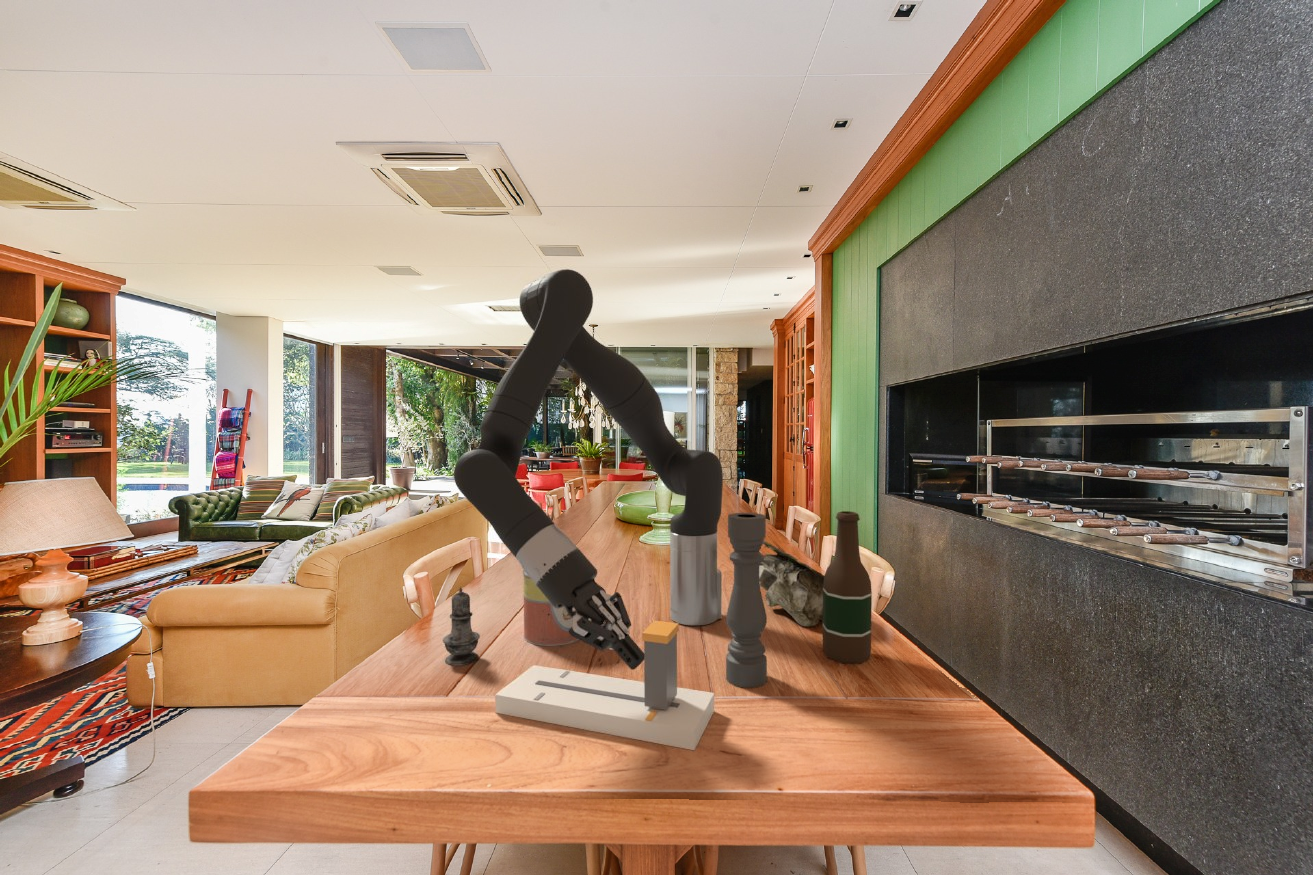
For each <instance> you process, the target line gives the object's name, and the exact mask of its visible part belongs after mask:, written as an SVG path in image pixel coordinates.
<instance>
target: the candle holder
mask: <svg viewBox="0 0 1313 875" xmlns="http://www.w3.org/2000/svg"><path fill="white" fill-rule="evenodd" d="M766 517H767V516H766V515H765V514H763V513H756V512H754V513H753V512H734V513H730V514H728V516H727V537H728V538H729V543H730V544H731V547H732V549H733V551H732V552H731V553H729V561H731V562H732V564H733V585H732V590H731V594H730V598H729V604H728V607H727V611H726V624H727V626H728V628H729V629H730V631H731V636H732V637H733V638H732V639H731V640H730V642H729V643H728V644H727V651H728V652H727V653H726V654H725V655H726V656H725V659H726V661H725V671H726V672H725V679H726V681H727V683H729V684H731V685H733V686H735V687H739V688H745V689H746V688H747V689H754V688H759V687H762V686H764V685H765V684H766V683H767V681H768V679H767V678H768V676H767V674H768V671H767V670H768V665H767V664H768V663H767V662H768V660H767V656H766V655H765V653H766V646H765V645H764V644H763V642H762V641H761V637H762V632H763V631H764V629H765V628H766V627H767V623H768V618H767V613H766V612H767V611H766V608H765V603H764V599H763V596H762V591H761V590H762V589H761V586H760V585H759V565H761V562H763V561H764V555H765V554H763V553H761V552H760V551H761V549H762V546H763V545H764V544H763V543H764V541H765V540H764V539H766V536H767V534H766V533H767V531H766V529H767V528H766V525H767V523H766V522H767V521H766V520H767V518H766Z"/></svg>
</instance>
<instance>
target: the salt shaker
mask: <svg viewBox="0 0 1313 875" xmlns="http://www.w3.org/2000/svg"><path fill="white" fill-rule="evenodd" d="M463 590H464V589H463V588H462V587H461V586H460V587H459V589H458V592H456V593H455V594H454V595H452V597H451V613H450V615H449V618H450V620H451V630H450V634H447V635H445V636H444V637H443V639H442V643H444V648H445V650H446V651H447V652H448V653H449V655H448V656H446V658H445V659H444V661H445V664H446V665H449V666H452V667H453V666H454V667H455V666H465V665H470V664H472V663H475V662H476V661H477V660H478V659H479V654H478V653H476V652H474V651H475V649H476V648H477V647H478V643H479V639H480V638H481V634H480V633H478V632H476V631H473V630H472V622H471V621H472V620H471V619H472V616H473V613H472V612H471V597H470V595H469V594H468V593H467V592H464V591H463Z"/></svg>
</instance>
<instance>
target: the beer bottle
mask: <svg viewBox="0 0 1313 875" xmlns="http://www.w3.org/2000/svg"><path fill="white" fill-rule="evenodd" d="M859 515H860V514H859V513H858V512H855V511H849V510H845V511H844V510H843V511H839V512H836V516H835V519H836V520H837V526H836V540H835V551H834V557H833V560H832V561H831V563H830V564H829V565H828V567H827V568H826V571H825V573H824V574H823V575H824V582H823V620H822V650H823V653H824V654H825V655H826V656H827V659H829V660H832V661H834V662H838V663H841V664H863V663H864V662H867V661H868V660H869V659H870V658H871V651H872V650H871V649H872V602H873V601H872V598H873V597H872V594H873V592H872V581H871V578H870V575H869V573H868V571H867V569H866V568H865V566H864V565H863V563H862V560H861V559H862V558H861V555H860V543H859V542H860V539H859V525H858V524H859V521H860V516H859Z"/></svg>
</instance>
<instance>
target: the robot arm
mask: <svg viewBox="0 0 1313 875" xmlns="http://www.w3.org/2000/svg"><path fill="white" fill-rule="evenodd" d="M593 306H594V296H593V290H592V288H591V285H590V284H589V281H588V280H587V279H586V278H585V276H584V275H582V274H581V273H580V272H578V271H576V270H573V269H568V268H567V269H566V268H565V269H559V270H556V271H553V272H551V273H548V274H546V275H544V276H541V277H540V278H537V279H535V280H533V281H532V282H530V283H529V284H526V285H525V287H523V289H522V290H521V293H520V296H519V308H520V311H521V314H522V316H523V318H524V320H525V322H526V323H527V324H528V326H529V328H531V329H532V330H533V332H532V335H531V337H530V338H529V339H528V342H527V343H526V345H525V346H524V347H523V349H522V350H521V352H520V353H519V354H518V355H517V357H516V359H515V360H514V361H513V362H512V364H511V365H510V366H509V368H508V369H507V371H506V372H505V373H504V375H503V376H502V378H501V379H500V380H499V382H498V384H497V386H496V388H495V390H494V392H493V394H492V397H491V399H490V401H489V404H488V405H487V408H486V411H485V412H484V415H483V418H482V420H481V424H480V442H479V444H478V447H477V449H472V450H468V451H467V452H465V453H463V454H462V455H461V456H460V457H459V458H458V460H457V461H456V463H455V465H454V469H453V470H454V471H453V480H454V483H455V486H456V487H457V489H458V490H459V491H460V492H461V494H462V495H463V496H464V497H465V499H466V500H467V501H468V502H469V503H470V504H472V505H473V507H474V508H475V509H476V510H477V511H478V512H479V513H480V514H481V515H482V517H484V518H485V520H487V522H488V523H489V524H490V525H491V527H492V528H493V530H494V531H495V533H496V535H497V536H498V538H499V539H500V541H501V542H502V543H503V544H504V545H505V547H506V548H507V549H508V550H509V552H510V553H511V554H512V555H513V556H514V557H515V559H516V560H517V561H518V563H519V564H520V567H521V568H522V569H523V570H524V571H525V572H526V574H527V575H528V576H529V577H530V578H531V580H532V581H533V582H534V583H535V584H536V586H537V587H538V588H539V589H540V590H541V592H542V593H543V594H544V595H545V597H546V598H547V599H548V600H549V601H550V603H551V604H552V605H553V606H554V607H555V608H557V609H558V608H561V607H563V606H564V607H565V608H566V610H567V613H568V615H569V616H570V617H571V618H572V619H573V626H572V627H571V628H570V629H569V633H570V635H571V636H573V637H575V638H577V639H579V640H578V641H581V642H583V643H584V644H587V645H588V646H591V647H593V648H595V649H597V650H599V651H602V652H604V651H606V649H609V650H610V651H612V650H614V651H615V653H616V654H617V655H618V657H620V659H621V660H622V661H623V663H625V664H626V666H627V667H628V668H629V669H630V670H634V671H635V669H636V668H638V667H639V666H640V665H642V663H643V662H644V651H643V650H642V649H641V648H640V647H639V645H638V644H637V643H636V642H635V640H633V638H632V637H631V636H630V633H631V632H630V628H631V626H632V623H631V620H630V616H629V613H628V612H627V608H626V605H625V603H624V600H623V596H622V595H621V594H620V592H617V591H615V592H614V594H609V593H607V591H606V590H605V589H604V587H603V586H601V585H600V584H599V583H597V582H596V581H595V579H596V577H597V576H598V569H597V568H596V566H595V565H593V564H592V562H591V561H590V560H589V559H588V558H587V557H586V555H585V554H584V553H583V551H581V549H579V547H578V546H577V544H576V543H574V541H573V540H572V539H571V538H570V537H569V536H568V535H567V534H566V533H565V532H564V531H563V530H562V529H560V528H559V526H557V524H556V523H555V522H554V521H553V520H552V519H551V517H550V516H549V515H548V514H547V513H546V512H545V511H544V510H543V508H541V507H540V505H539V504H538V503H537V502H536V501H535V500H534V499H533V498H531V496H529V494H528V492H526V490H525V489H524V487H523V486H522V484H521V483H520V482H519V480H518V479H517V477H516V476H517V472H518V469H519V465H520V461H521V458H522V457H521V456H522V453H523V449H524V445H525V443H526V440H527V439H528V435H530V431H531V430H532V426H533V424H534V421H535V420H536V417H537V415H538V412H539V410H540V407H541V405H542V402H543V400H544V397H545V395H546V393H547V390H548V388H549V386H550V384H551V383H552V381H553V378H554V377H555V374H556V372H557V370H558V369H559V367H560V366H561V364H562V362H563V361H564V362H565V363H566V364H567V365H568V366H569V367H570V368H571V370H572V372H574V373H575V374H576V375H577V377H578V378H579V379H580V380H581V381H582V383H583V384H584V385H585V386H586V387H587V388H588V390H590V392H591V393H592V394H593V395H594V396H595V398H596V399H597V400H598V402H600V404H601V406H602V407H603V408H604V409H605V411H607V412H608V413H609V415H610V417H612V419H613V420H614V421H615V422H616V423H617V424H618V425H619V426H620V428H622V430H623V431H624V432H625V434H627V436H628V437H629V438H630V440H631V441H632V442H633V443H634V444H635V445H636V446H637V448H638V449H639V450H640V451H641V452H642V454H643V455H644V456H645V458H646V459H647V460H648V462H649V464H650V465H651V466H652V468H653V470H654V471H655V473H656V474H657V476H658V478H660V480H661V482H662V484H664V486H665V487H666V489H668V490H669V491H670V492H672V493H673V494H675V495H678V496H683V497H684V508H683V510H682V511H681V512H680V513H677V514H674V515H673V516H672V517H671V518H670V524H669V527H670V528H669V529H670V530H669V533H670V534H669V535H670V536H669V539H670V542H669V545H670V546H669V547H670V552H669V553H670V555H669V556H670V558H669V559H670V567H669V568H670V578H669V579H670V580H669V581H670V607H669V608H670V619H671V620H672V621H673V622H674V623H679V624H681V625H685V626H705V625H709V624H713V623H715V622H716V621H718V620H722V604H723V603H722V599H723V598H722V594H723V593H722V584H723V583H722V580H723V579H722V570H721V569H719V568H718V524H719V521H720V518H721V516H722V505H723V504H722V502H723V484H724V483H723V482H724V481H723V480H724V473H723V467H722V464H721V461H720V459H719V457H718V456H717V455H716V454H715V453H713V452H711V451H708V450H697V449H688V448H686V447H685V446H683V445H682V444H681V443H680V442H679V441H678V440H677V439H676V438H675V436H674V435H673V434H672V432H671V431H670V430H669V428H668V427H667V425H666V421H665V416H664V410H663V405H662V402H661V398H660V395H659V393H658V392H657V391H656V389H655V388H654V386H653V385H652V384H651V383H650V381H649V380H648V379H647V377H646V376H645V374H643V372H642V370H640V369H639V367H638V366H636V365H635V364H634V363H632V362H631V361H630V360H628V359H627V358H625V357H624V356H622V355H620V354H619V353H617V352H616V351H614V350H612V349H611V348H608V347H607V346H606V345H604V344H602V343H601V342H599V341H598V340H597V339H596V338H595V337H593V336H592V335H591V333H589V331H587V329H586V328H585V326H584V325H585V324H586V322H587V320H588V318H589V317H590V315H591V312H592V309H593Z"/></svg>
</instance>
